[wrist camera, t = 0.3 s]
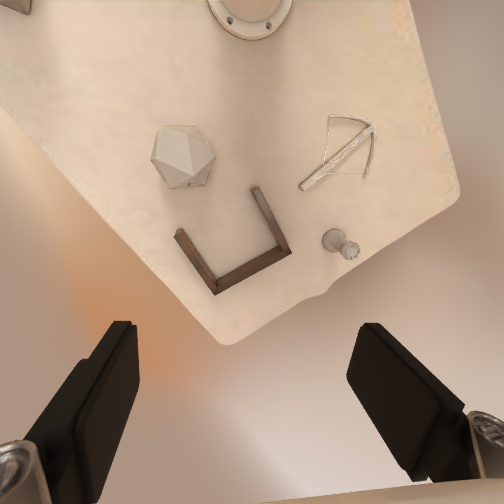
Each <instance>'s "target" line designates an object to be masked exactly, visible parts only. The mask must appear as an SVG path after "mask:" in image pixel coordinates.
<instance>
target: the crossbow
mask: <svg viewBox="0 0 504 504" xmlns="http://www.w3.org/2000/svg"><path fill="white" fill-rule="evenodd" d="M329 118H347V119H353V120H357V121H361V122H363V123H364V124H366V125H367V126H368V127H367V128H365V129H364V130H363V131H362V132H361V133H360V134H359V135H358V136H356V137H355V138H354V139H353V140H352V141H351V142H350V143H349V144H347V145H346V146H345V147H344V148H343V149H342V150H341V151H339V152H338V153H337V154H336V155H335V156H334V157H333V158H332V159H330V160H329V161H328V162H327V163H326V164H325V165H324V162H323V167H321V168H320V169H319V170H316V171H315V173H314V174H313V175H311V176H310V177H309V178H308V179H307V180H306V181H304V182H303V183H302V184H301V185H300V186H299V187H300V188H301V190H302V191H306V190H307V189H308V188H309V187H310V186H311V185H312V184H313V183H314V182H315V181H317V180H318V179H319V178H321V177H322V176H323V175H324V174H325V173H327V172H328V171H329V170H330V169H331V168H332V167H334V166H335V165H336V164H337V163H338V162H339V161H340V160H341V159H342V158H344V157H345V156H346V155H347V154H348V153H349V152H350V151H352V150H353V149H354V148H355V147H356V146H357V145H358V144H359V143H361V142H362V141H363V140H365V139H366V137H367V136H369V135H370V134H371V135H372V144H371V152H370V156H369V161H368V165H367V168H366V171H365V174H364V178H367V177H368V176H369V171H370V168H371V165H372V161H373V157H374V153H375V147H376V140H377V135H376V132H377V131H376V128H375V127H374V125H373V123H372V122H370V121H369V120H367V119H365V118H361V117H358V116H351V115H334V114H331V115H330V116H329ZM330 123H331V119H330ZM329 129H330V125H329ZM328 136H329V131H328ZM327 142H328V138H327ZM326 148H327V144H326ZM325 154H326V150H325ZM324 160H325V156H324ZM330 174H337V173H330ZM341 175H348V174H341ZM353 176H359V175H353Z"/></svg>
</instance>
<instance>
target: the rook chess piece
mask: <svg viewBox="0 0 504 504" xmlns="http://www.w3.org/2000/svg"><path fill="white" fill-rule="evenodd" d="M323 245H324V247H325V248H326V249H327V250H329V251H331V252H340V253H341V255H343V257H344V258H345V259H347V260H354V258H356V259H357V258H358V257H359V256H358V254H361V251H360V247H359V245H358V244H357V243H355V242H351V241H347V239H346V236H345V234H344V233H343V232H341V231H340V230H336V229H333V230H331V231H329V232H328V233H326V235H325V236H324V238H323Z"/></svg>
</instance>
